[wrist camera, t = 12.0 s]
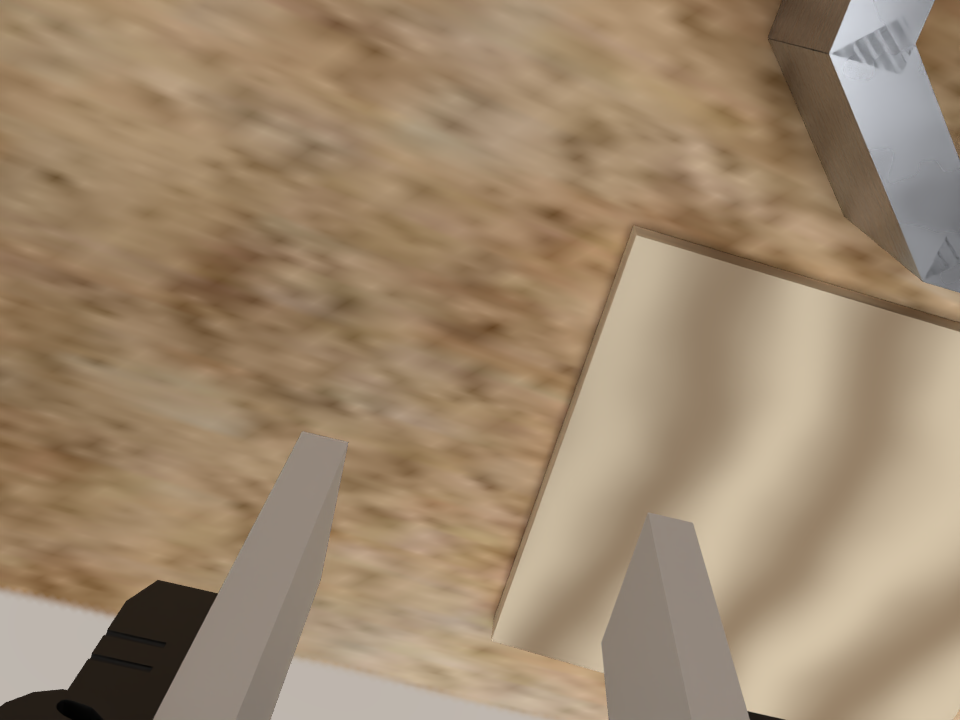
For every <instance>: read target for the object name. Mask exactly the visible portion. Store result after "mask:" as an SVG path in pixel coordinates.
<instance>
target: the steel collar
mask: <svg viewBox="0 0 960 720" xmlns="http://www.w3.org/2000/svg"><path fill="white" fill-rule="evenodd" d="M934 1H935V0H782V2H781V5H780V8H779V10H778V13H777V15H776V18H775V21H774V23H773V26H772V29H771V31H770V34H769V36H768V38H769V39H768V40H769V42H770V44H771V47H772V49H773V51H774V54H775V56H776V58H777V61H778V63H779V65H780V68H781V70H782V72H783V75H784V77H785V79H786V82H787V84H788V86H789V89H790V91H791V93H792V96H793V98H794V100H795V103H796V105H797V107H798V110H799V112H800V114H801V117H802V119H803V121H804V124H805V126H806V128H807V130H808V133H809V135H810V137H811V140H812V142H813V144H814V147H815V149H816V151H817V154H818V156H819V158H820V161H821V163H822V165H823V168H824V170H825V172H826V175H827V177H828V179H829V182H830V184H831V186H832V189H833V191H834V193H835V196H836V198H837V200H838V203H839V205H840V207H841V210H842V212H843V214H844V216H845V217H846V218H847V219H848V220H849V221H851V222H852V223H853V224H854V225H855V226H857V227H858V228H859V229H860V230H861V231H863V232H864V233H865V234H866V235H867V236H869V237H870V238H871V239H872V240H873V241H875V242H876V243H877V244H878V245H879V246H881V247H882V248H883V249H884V250H886V251H887V252H888V253H889V254H890V255H892V256H893V257H894V258H895V259H896V260H898V261H899V262H900V263H901V264H902V265H904V266H905V267H906V268H907V269H908V270H910V271H911V272H912V273H913V274H914V275H916V276H917V277H918V278H919V279H920V280H922V281H923V282H926V283H929V284H932V285H936V286H939V287H942V288H946V289H949V290H952V291H956V292H959V293H960V160H959V157H958V155H957V152H956V149H955V147H954V144H953V141H952V139H951V136H950V134H949V131H948V128H947V126H946V123H945V120H944V118H943V115H942V113H941V110H940V107H939V105H938V102H937V99H936V97H935V94H934V92H933V89H932V86H931V84H930V81H929V78H928V76H927V73H926V71H925V68H924V65H923V63H922V60H921V57H920V55H919V52H918V50H917V47H916V41H917V39H918V37H919V35H920V32H921V30H922V28H923V26H924V23H925V21H926V19H927V17H928V14H929V12H930V10H931V8H932V5H933V3H934Z"/></svg>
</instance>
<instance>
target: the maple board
mask: <svg viewBox="0 0 960 720" xmlns="http://www.w3.org/2000/svg"><path fill="white" fill-rule="evenodd" d="M648 512H649V513H653V514H658V515H662V516H666V517H670V518H675V519H679V520H683V521H687V522H692V523H693V525H694V528H695V532H696V535H697V539H698V542H699V545H700V549H701V552H702V556H703V559H704V563H705V566H706V570H707V573H708V577H709V580H710V584H711V587H712V590H713V594H714V597H715V601H716V604H717V608H718V611H719V615H720V618H721V622H722V625H723V629H724V632H725V635H726V639H727V642H728V646H729V649H730V653H731V656H732V660H733V663H734V667H735V670H736V674H737V677H738V680H739V684H740V687H741V691H742V694H743V698H744V701H745V705H746V708H747V711H750V712H754V713H758V714H763V715H767V716H772V717H776V718H780V719H785V720H953V719H954V717H955V716H956V714H957V712H958V711H959V709H960V323H958V322H955V321H952V320H948V319H945V318H942V317H938V316H935V315H932V314H928V313H925V312H922V311H918V310H915V309H912V308H908V307H905V306H902V305H898V304H895V303H892V302H888V301H885V300H882V299H878V298H875V297H872V296H868V295H865V294H862V293H858V292H855V291H852V290H848V289H845V288H842V287H838V286H835V285H832V284H828V283H825V282H822V281H818V280H815V279H812V278H808V277H805V276H802V275H798V274H795V273H792V272H788V271H785V270H782V269H778V268H775V267H772V266H768V265H765V264H762V263H758V262H755V261H752V260H748V259H745V258H741V257H738V256H735V255H731V254H728V253H725V252H721V251H718V250H715V249H711V248H708V247H705V246H701V245H698V244H695V243H691V242H688V241H685V240H681V239H678V238H675V237H671V236H668V235H665V234H661V233H658V232H655V231H651V230H648V229H645V228H641V227H638V226H635V225H634V226H633V229H632V231H631V234H630V237H629V240H628V243H627V245H626V248H625V251H624V254H623V257H622V260H621V262H620V265H619V268H618V271H617V274H616V276H615V279H614V282H613V285H612V288H611V291H610V293H609V296H608V299H607V302H606V305H605V307H604V310H603V313H602V316H601V319H600V321H599V324H598V327H597V330H596V333H595V336H594V338H593V341H592V344H591V347H590V350H589V352H588V355H587V358H586V361H585V364H584V366H583V369H582V372H581V375H580V378H579V381H578V383H577V386H576V389H575V392H574V395H573V397H572V400H571V403H570V406H569V409H568V412H567V414H566V417H565V420H564V423H563V426H562V428H561V431H560V434H559V437H558V440H557V442H556V445H555V448H554V451H553V454H552V457H551V459H550V462H549V465H548V468H547V471H546V473H545V476H544V479H543V482H542V485H541V487H540V490H539V493H538V496H537V499H536V502H535V504H534V507H533V510H532V513H531V516H530V518H529V521H528V524H527V527H526V530H525V533H524V535H523V538H522V541H521V544H520V547H519V549H518V552H517V555H516V558H515V561H514V563H513V566H512V569H511V572H510V575H509V578H508V580H507V583H506V586H505V589H504V592H503V594H502V597H501V600H500V603H499V606H498V608H497V611H496V614H495V617H494V621H493V630H492V638H491V641H493V642H497V643H500V644H504V645H507V646H511V647H514V648H518V649H521V650H525V651H528V652H532V653H535V654H539V655H542V656H546V657H549V658H553V659H556V660H560V661H563V662H567V663H570V664H573V665H577V666H580V667H584V668H587V669H591V670H594V671H598V672H601V673H604V666H603V656H602V646H601V642H602V639H603V636H604V634H605V631H606V628H607V625H608V622H609V620H610V617H611V614H612V611H613V608H614V606H615V603H616V600H617V597H618V595H619V592H620V589H621V586H622V583H623V581H624V578H625V575H626V572H627V569H628V567H629V564H630V561H631V558H632V555H633V553H634V550H635V547H636V544H637V542H638V539H639V536H640V533H641V530H642V528H643V525H644V522H645V519H646V516H647V514H648Z"/></svg>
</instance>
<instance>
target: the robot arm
mask: <svg viewBox="0 0 960 720" xmlns="http://www.w3.org/2000/svg"><path fill="white" fill-rule="evenodd" d="M347 447H348V442H346V441H341V440H337V439H333V438H328V437H324V436H320V435H316V434H311V433H307V432H303V431H302V433H301V435H300V437H299V438H298V440H297V442H296V444H295V446H294V448H293V450H292V452H291V454H290V456H289V458H288V460H287V462H286V464H285V465H284V467H283V469H282V471H281V473H280V475H279V477H278V479H277V481H276V483H275V485H274V487H273V489H272V491H271V492H270V494H269V496H268V498H267V500H266V502H265V504H264V506H263V508H262V510H261V512H260V514H259V516H258V518H257V520H256V521H255V523H254V525H253V527H252V529H251V531H250V533H249V535H248V537H247V539H246V541H245V543H244V545H243V547H242V548H241V550H240V552H239V554H238V556H237V558H236V560H235V562H234V564H233V566H232V568H231V570H230V572H229V574H228V576H227V577H226V579H225V581H224V583H223V585H222V587H221V589H220V591H219V593H218V594H217V593H213V592H209V591H204V590H200V589H195V588H191V587H187V586H182V585H178V584H173V583H169V582H165V581H160V580H157V581H156V582H154V583H153V584H151V585H150V586H148V587H147V588H145V589H144V590H142V591H141V592H139V593H138V594H136V595H135V596H133V597H132V598H130V599H129V600H127V601H126V602H125V604H124V605H123V607H122V608H121V610H120V611H119V613H118V614H117V616H116V617H115V619H114V620H113V622H112V624H111V625H110V627H109V628H108V630H107V633H106V635H104V636H103V637H102V639H101V640H100V642H99V643H98V645H97V646H96V648H95V649H94V651H93V652H92V656H91V658H90V659H88V660H87V661H86V663H85V665H84V666H83V668H82V669H81V671H80V672H79V674H78V675H77V677H76V678H75V680H74V681H73V683H72V684H71V686H70V687H69V689H68V690H64V689H60V690H50V691H41V692H33V693H30V694H28V695H25V696H22V697H19V698H17V699H14V700H12V701H9V702H6V703H4V704H3V705H2V706H0V720H270V719H271V716H272V714H273V711H274V708H275V705H276V703H277V700H278V697H279V694H280V691H281V689H282V686H283V683H284V680H285V677H286V674H287V671H288V669H289V666H290V664H291V661H292V658H293V655H294V652H295V650H296V647H297V644H298V641H299V638H300V636H301V633H302V630H303V627H304V625H305V622H306V619H307V616H308V613H309V611H310V608H311V605H312V602H313V600H314V597H315V594H316V591H317V588H318V586H319V583H320V580H321V576H322V571H323V566H324V561H325V556H326V551H327V546H328V541H329V536H330V531H331V526H332V521H333V516H334V511H335V506H336V501H337V496H338V491H339V486H340V482H341V477H342V472H343V467H344V462H345V457H346V452H347ZM601 646H602V656H603V666H604V676H605V686H606V696H607V707H608V717H609V720H785V719H780V718H776V717H772V716H767V715H763V714H758V713H754V712H750V711H747V708H746V705H745V701H744V698H743V694H742V691H741V687H740V684H739V680H738V677H737V674H736V670H735V667H734V663H733V660H732V656H731V653H730V649H729V646H728V642H727V639H726V635H725V632H724V629H723V625H722V622H721V618H720V615H719V611H718V608H717V604H716V601H715V597H714V594H713V590H712V587H711V584H710V580H709V577H708V573H707V570H706V566H705V563H704V559H703V556H702V552H701V549H700V545H699V542H698V539H697V535H696V532H695V528H694V525H693V523H692V522H687V521H683V520H679V519H675V518H670V517H666V516H662V515H658V514H653V513H649V512H648V514H647V516H646V519H645V522H644V525H643V528H642V530H641V533H640V536H639V539H638V542H637V544H636V547H635V550H634V553H633V555H632V558H631V561H630V564H629V567H628V569H627V572H626V575H625V578H624V581H623V583H622V586H621V589H620V592H619V595H618V597H617V600H616V603H615V606H614V608H613V611H612V614H611V617H610V620H609V622H608V625H607V628H606V631H605V634H604V636H603V639H602V642H601Z"/></svg>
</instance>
